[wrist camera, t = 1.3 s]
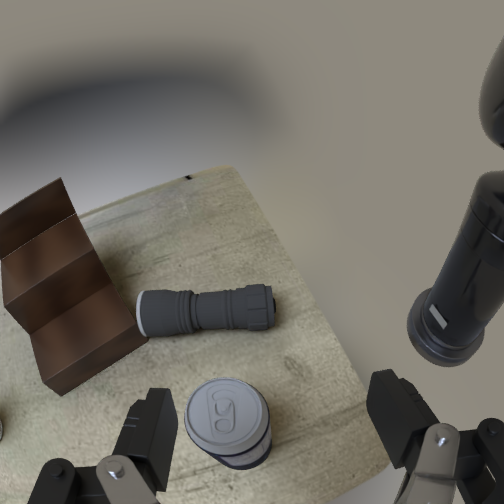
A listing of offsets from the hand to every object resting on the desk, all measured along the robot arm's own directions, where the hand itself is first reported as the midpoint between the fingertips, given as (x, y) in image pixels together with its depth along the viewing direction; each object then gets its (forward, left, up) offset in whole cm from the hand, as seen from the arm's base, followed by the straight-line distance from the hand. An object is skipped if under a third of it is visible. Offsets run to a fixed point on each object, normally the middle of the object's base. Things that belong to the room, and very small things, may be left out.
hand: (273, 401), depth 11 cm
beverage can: (+1, -3, -19) cm, 20 cm away
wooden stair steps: (+9, -30, -19) cm, 36 cm away
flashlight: (-5, -17, -19) cm, 26 cm away
